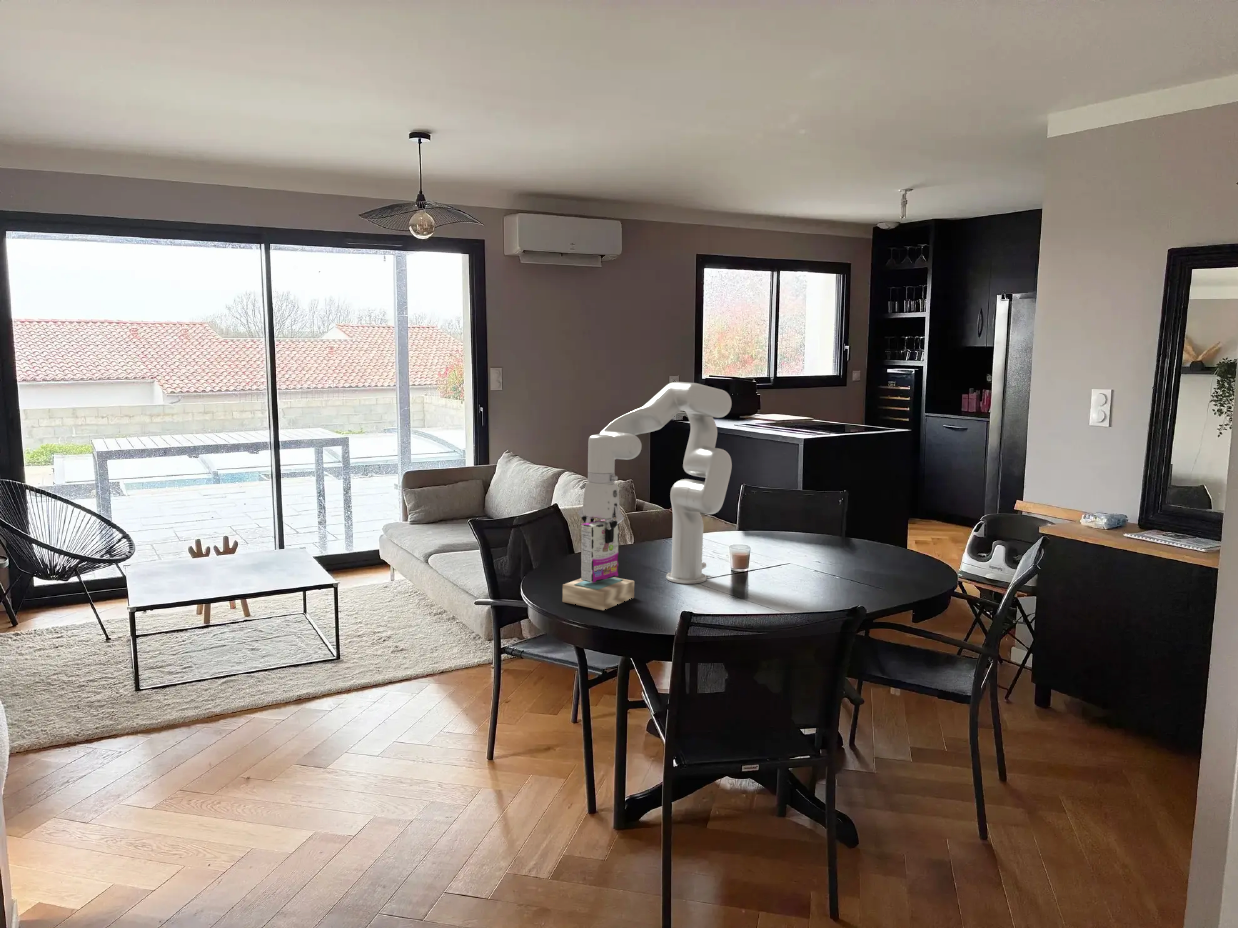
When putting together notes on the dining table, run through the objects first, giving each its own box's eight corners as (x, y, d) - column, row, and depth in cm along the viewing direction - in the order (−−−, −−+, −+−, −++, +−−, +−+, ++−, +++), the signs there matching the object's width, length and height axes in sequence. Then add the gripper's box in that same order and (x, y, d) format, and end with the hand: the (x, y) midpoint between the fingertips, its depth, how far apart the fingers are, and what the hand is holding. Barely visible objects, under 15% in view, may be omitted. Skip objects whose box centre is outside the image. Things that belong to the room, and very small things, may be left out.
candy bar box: (606, 573, 270) (607, 518, 268) (618, 576, 266) (620, 520, 264) (579, 579, 262) (580, 523, 259) (592, 583, 258) (593, 525, 256)
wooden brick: (594, 589, 275) (594, 572, 274) (634, 597, 268) (634, 579, 267) (562, 601, 262) (562, 583, 261) (603, 610, 254) (603, 591, 254)
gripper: (633, 479, 259) (632, 542, 261) (583, 473, 268) (583, 535, 270) (619, 482, 252) (618, 547, 255) (568, 476, 262) (567, 539, 264)
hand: (600, 540), depth 263 cm, fingers closed on candy bar box, 5 cm apart
